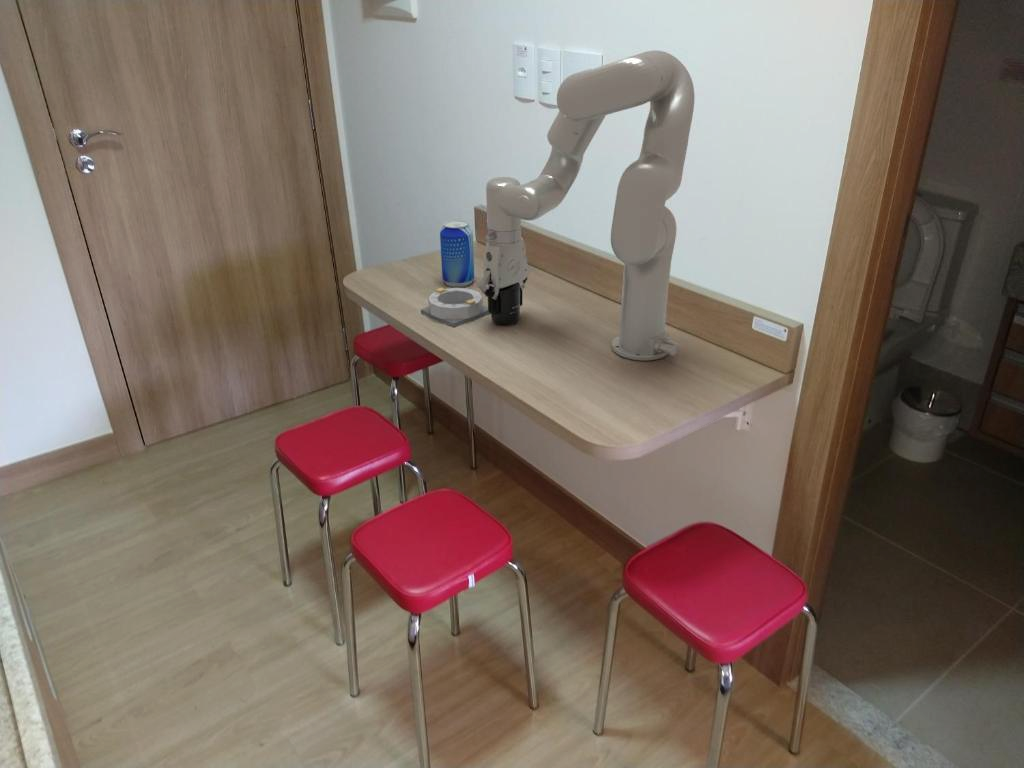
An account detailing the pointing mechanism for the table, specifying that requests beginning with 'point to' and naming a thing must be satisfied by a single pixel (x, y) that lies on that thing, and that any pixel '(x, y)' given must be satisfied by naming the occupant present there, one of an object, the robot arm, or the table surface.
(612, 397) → the table surface
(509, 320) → the supplement bottle
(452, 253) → the beer can
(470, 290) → the socket
